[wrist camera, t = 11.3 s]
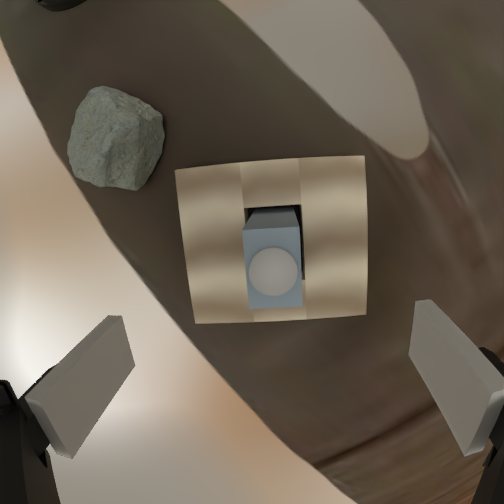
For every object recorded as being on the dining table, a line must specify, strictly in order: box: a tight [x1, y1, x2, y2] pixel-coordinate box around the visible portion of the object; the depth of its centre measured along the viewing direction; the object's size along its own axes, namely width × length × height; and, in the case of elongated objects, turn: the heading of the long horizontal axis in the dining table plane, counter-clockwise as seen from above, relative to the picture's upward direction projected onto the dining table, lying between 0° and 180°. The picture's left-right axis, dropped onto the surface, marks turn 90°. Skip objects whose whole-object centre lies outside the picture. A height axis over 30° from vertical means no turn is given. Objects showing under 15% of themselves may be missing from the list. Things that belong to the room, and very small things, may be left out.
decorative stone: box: [67, 86, 165, 191], centre depth 31 cm, size 13×11×10 cm
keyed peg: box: [242, 207, 303, 309], centre depth 29 cm, size 4×6×13 cm, turn 5°
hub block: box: [175, 156, 368, 323], centre depth 33 cm, size 16×18×4 cm
